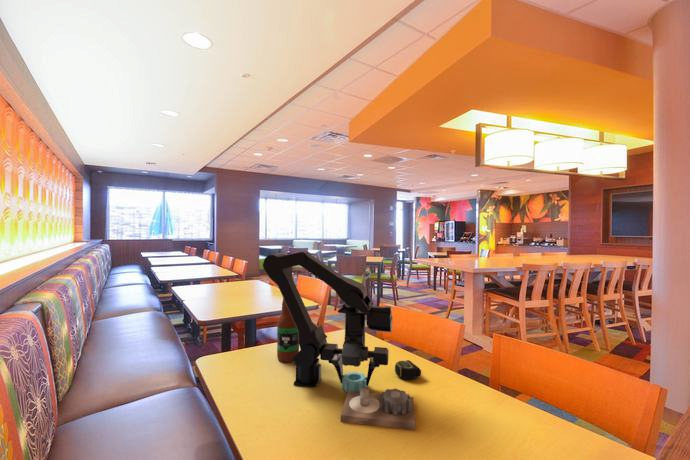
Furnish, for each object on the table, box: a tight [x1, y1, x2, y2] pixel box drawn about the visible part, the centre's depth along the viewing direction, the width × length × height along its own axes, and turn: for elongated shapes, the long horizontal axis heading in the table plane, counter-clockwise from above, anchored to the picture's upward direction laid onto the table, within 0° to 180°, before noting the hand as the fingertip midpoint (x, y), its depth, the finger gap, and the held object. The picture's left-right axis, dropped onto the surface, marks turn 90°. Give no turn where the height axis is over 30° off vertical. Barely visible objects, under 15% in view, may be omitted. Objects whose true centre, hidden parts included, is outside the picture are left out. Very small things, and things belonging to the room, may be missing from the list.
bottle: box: [276, 297, 300, 363], centre depth 109 cm, size 7×7×25 cm
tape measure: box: [394, 359, 422, 380], centre depth 98 cm, size 7×7×4 cm
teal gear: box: [341, 371, 368, 393], centre depth 90 cm, size 7×7×3 cm
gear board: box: [340, 387, 416, 431], centre depth 79 cm, size 17×11×5 cm, turn 80°
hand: (354, 383), depth 90 cm, fingers closed on teal gear, 7 cm apart
